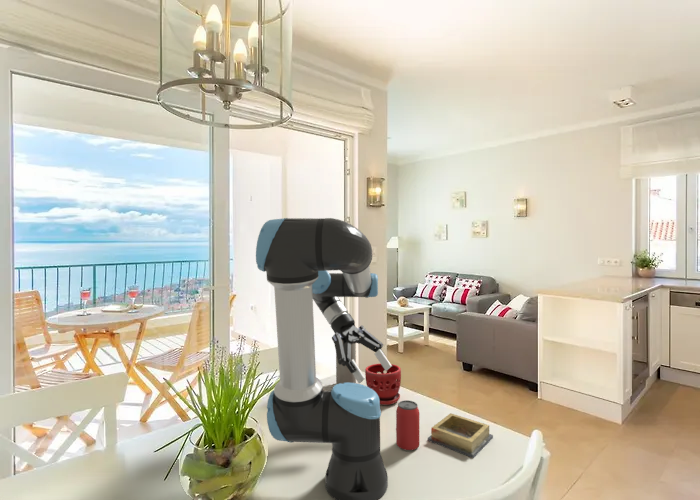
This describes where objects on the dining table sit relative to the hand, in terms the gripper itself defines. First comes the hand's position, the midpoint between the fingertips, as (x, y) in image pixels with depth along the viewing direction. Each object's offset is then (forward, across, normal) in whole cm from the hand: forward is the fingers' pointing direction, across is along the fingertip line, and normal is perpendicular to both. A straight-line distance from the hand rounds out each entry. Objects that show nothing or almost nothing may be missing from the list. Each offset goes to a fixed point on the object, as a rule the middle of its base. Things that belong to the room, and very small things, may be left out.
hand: (376, 374), depth 120 cm
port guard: (+28, -12, +3) cm, 31 cm away
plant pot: (+4, -20, -22) cm, 30 cm away
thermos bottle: (-10, -22, -36) cm, 43 cm away
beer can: (+21, +1, -4) cm, 21 cm away
